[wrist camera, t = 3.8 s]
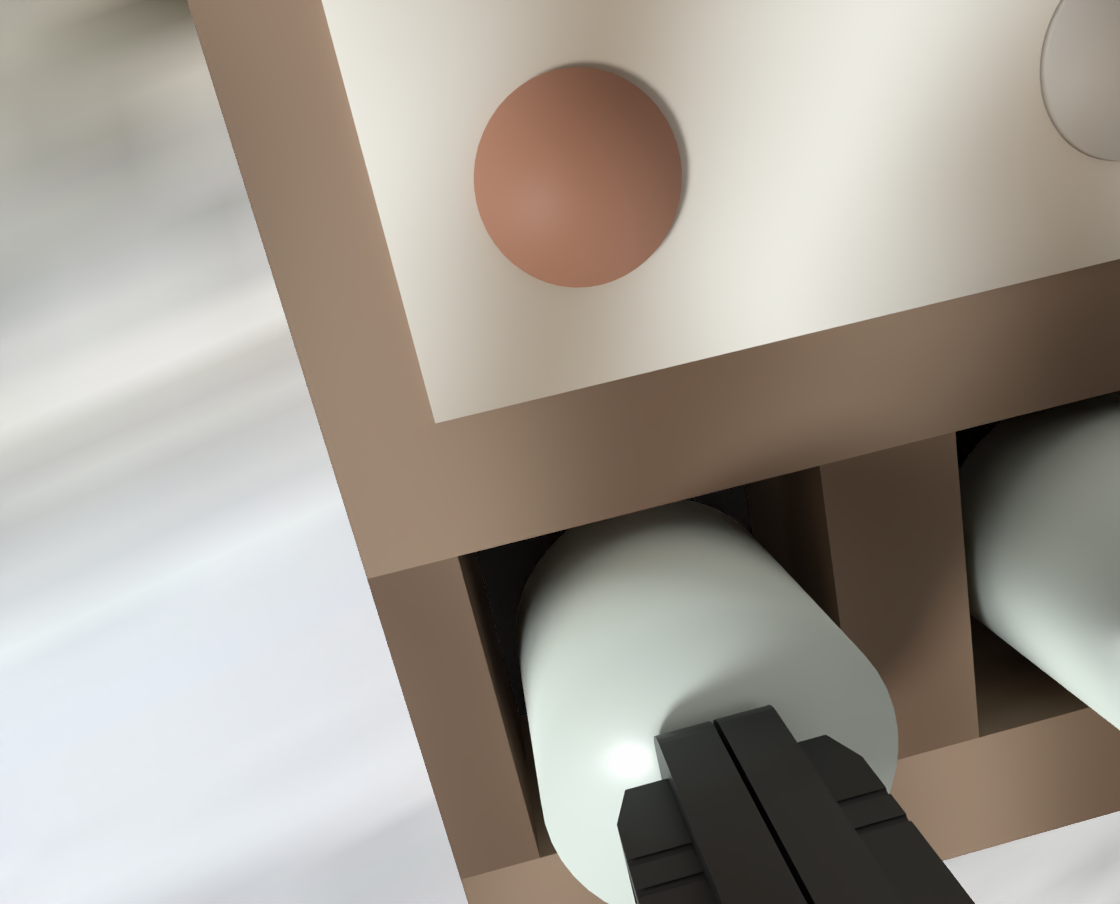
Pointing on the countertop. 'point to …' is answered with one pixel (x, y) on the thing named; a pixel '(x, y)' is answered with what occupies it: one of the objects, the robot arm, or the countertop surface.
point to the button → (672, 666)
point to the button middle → (1050, 543)
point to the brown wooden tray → (691, 331)
